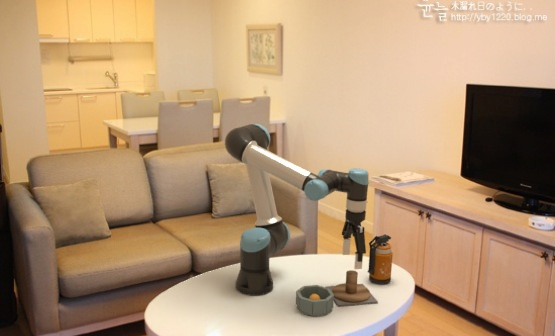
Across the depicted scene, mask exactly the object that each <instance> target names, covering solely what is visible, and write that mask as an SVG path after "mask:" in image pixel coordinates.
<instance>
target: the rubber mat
mask: <svg viewBox="0 0 555 336" xmlns="http://www.w3.org/2000/svg"><path fill="white" fill-rule="evenodd" d="M357 284H358V285H361V286H364V287H366V286H365V285H364V284H363V283H357ZM334 286H335V285H330V286H329V285H328V286H325V287H326V288H329V289H330V290H331V291H332V288H333V287H334ZM378 302H379V301H378V300H377V299H376V298H375V296H374V295H373V294H372V293H371V292H370V298H369V299H368V300H366V301H364V302H359V303H349V302H344V301H341V300H338V299H336V298H335V297H334V304H336V306H337V307H338V308H341V307H342V308H344V307H353V306H367V305H374V304H378Z"/></svg>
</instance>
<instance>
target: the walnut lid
mask: <svg viewBox="0 0 555 336" xmlns="http://www.w3.org/2000/svg"><path fill="white" fill-rule="evenodd" d="M358 274H359V273H358V272H357V271H356V270H346V274H345V283H339V284H337V285H333V286H334V287H333V288H332V293H333V294H334V297H335V298H336V299H338V300H341V301H344V302H349V303H359V302H364V301H366V300H368V299H369V298H370V293H371V291H370V290H369V288H367V286H365V285H364V286H365V287H364V286H361V285H358V284H359V283H358Z"/></svg>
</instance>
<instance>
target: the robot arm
mask: <svg viewBox="0 0 555 336" xmlns="http://www.w3.org/2000/svg"><path fill="white" fill-rule="evenodd" d="M224 138H225V140H224V147H225V149H226V152H227V153H228V154H229V155H230V156H231V157H232V158H233V159H235V160H237V161H239V162H240V163H242V164H245V167H246V171H247V175H248V176H247V177H248V181H249V186H250V190H251V191H250V192H251V195H252V200H253V205H254V209H255V213H256V221H255V223H254V227H253V228H248V229H246V230H245V231H242V233H241V235H240V241H239V246H240V247H239V248H240V249H239V250H240V251H239V254H240V260H239V262H240V264H239V265H240V267H239V271H238V274H237V278H236V281H235V289H236V290H237V291H238V292H239V293H240V294H244V295H247V296H262V295H267V294H268V293H270V292H272V291H273V289H274V280H273V276H272V274H271V271H270V257H273V256H274V255H275V254H276V253H278V252H280V251H281V250H284V248H285V247H286V246H287V245H288V243H289V242H290V240H291V232H290V228H289V227H288V225H286V223H285V222H284V221H283V218H282V217H281V216H280V215H279V214H278V211H277V206H276V202H275V195H274V192H273V188H272V182H271V181H272V180H271V178H270V175H271V176H274V177H275V178H277V179H279V180H281V181H283V182H285V183H287V184H288V185H291V186H293V187H295V188H297V189H298V190H301V191H302V192H304V194H305V196H306V198H307V199H309V200H310V201H313V202H315V201H316V202H317V201H320V200H323V199H325V198H326V197H327V196H329V195H331V194H332V193H335V192H339V193H345V194H346V203H345V207H346V209H345V221H344V224H343V228H342V229H341V230H342V231H341V235H342V238H343V243H342V256H349V255H350V254H351V243H352V242H351V239H352V237H353V238H354V239H353V240H354V243H355V250H356V251H355V252H354V253H355V255H354V256H355V257H354V268H353V269H354V270H362V268H363V260H364V259H363V258H364V255H365V254H367V250H366V249H367V248H366V239H365V238H366V236H365V226H362V224H361V223H363V222H364V221H366V216H367V215H366V213H367V211H366V210H367V204H368V200H367V199H368V191H369V190H368V189H369V172H368V170H367V169H364V168H355V167H354V168H350V169H349V170H348V172H345V171H344V172H343V171H337V170H332V169H321V170H319V172H318V173H317V174H315V173H313V172H312V171H309V170H307V169H305V168H303V167H301V166H299V165H298V164H295V163H293V162H291V161H290V160H287V159H286V158H283V157H281V156H280V155H277V154H276V153H273V152H271V151H270V150H269V149H268V148H269V146H270V144H271V136H270V133H269V130H268V129H267V128H266V127H264V125H261V124H259V123H252V124H251V123H250V124H246V125H242V126H240V127H236V128H232V129H231V130H229V131H228V133H227V134H226V135H225V137H224Z"/></svg>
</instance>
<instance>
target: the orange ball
mask: <svg viewBox="0 0 555 336" xmlns="http://www.w3.org/2000/svg"><path fill="white" fill-rule="evenodd" d="M309 299H311V300H321V299H320V297H319V295H317V294H312V295H311V296H310V297H309Z"/></svg>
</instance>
